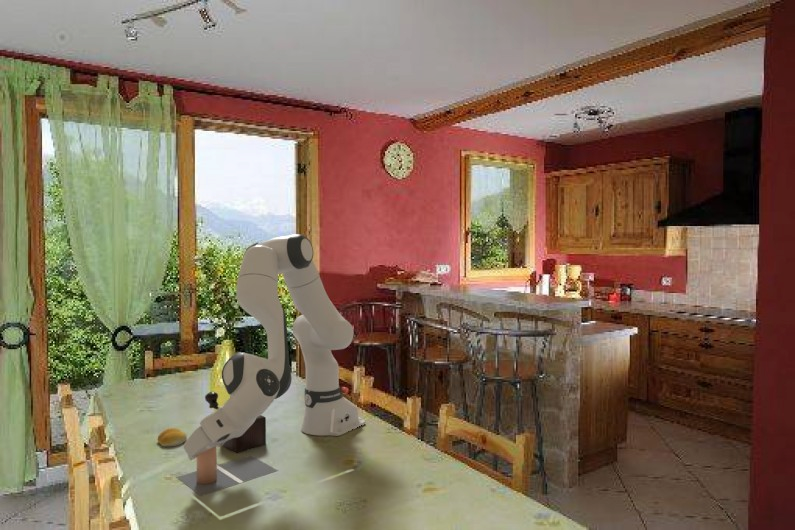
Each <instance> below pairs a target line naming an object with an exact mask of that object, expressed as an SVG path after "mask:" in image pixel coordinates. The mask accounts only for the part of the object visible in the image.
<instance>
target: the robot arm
mask: <svg viewBox="0 0 795 530" xmlns="http://www.w3.org/2000/svg"><path fill="white" fill-rule="evenodd" d="M313 259H314V247H313V245H312V243H311V240H309V238H307V237H306V236H305V235H304V234H297V233H296V234H294V233H293V234H290V235H284V236H278V237H276V236H275V237H273V238H271V239H267V240H264V241H260V242H256V243H253V244H251V245H249V246H248V247H247V248H246V249H245V251H244V254H243V258H242V261H241V264H240V268H239V271H238V276H237V282H236V289H235V290H236V292H235V294H236V295H235V296H236V300H237V302H238V304H239V306H240V307H241V308H242V309H243V311H244V312H246V314H249V316H251V317H253V318H254V319H255V320H256V321H257V322H258V323H259V324H261V326H262V327H263V328H264V330H265V332H266V336H267V358H265V357H260V356H257V355H255V354H251V353H246V352H242V351H239V352H236V353H234V354H232V355H231V356H230V357H229V358H228V359H227V361H226V362H225V364H224V366H223V368H222V370H221V379H222V382H223V385H224V387H225V390H226V392H227V394H228V395H229V398H228V399H227V400H226V401H225V403H224V404H223V405H221V406H219V407H220V408H219V409H218V410H217V409H215V411H213V412H211V413H209V415H206V416H205V417H204V418H202V419H201V420H200V422H199V426H198V427H197V428H196V429H195V430H194V431H193V432H192V433H191V434H190V435H189V436H188V438H187V439H186V441H185V442H184V443H183V449H184V451H185V453H186V454H187V458H188V459H189V460H190V461H192V460H195V459H196V457H197V456H198V454H200V453H203V452H205V451H207V450H209V449H211V448H213V447H215V446H216V448H220V447H223V446H222V445H223V444H224V443H225V442H226V441H228V440H230V439H232V438H237V437H240V436H242V435H243V434H244V433H245V432H246V431H247V429H248V428H249V427H250V426H251V425H252V424H253V423H254V422H255V420H256V418H257V417H258V416H260V415H263V414H264V413H265V411H266V410H267V409H268V408H269V407H270V406H271V405H272V403H273V402H274V401H275V400H277V399H279V398H280V397H282V396H283V395H284V394H285V393H286V392H288V390H289V389H290V387H291V384H292V370H291V365H290V360H289V346H288V326H287V317H286V311H285V309H284V308H283V306H282V303H281V302H280V297H279V293H278V285H279V283H278V282H279V275H281V274H282V275H283V279H284V282H285V285H286V288H287V290H288V292H289V293H288V294H289V295H290V298H291V300H292V303H293V305H294V307H295V309H296V310H297V311H298V312H299V313H300V314H301V315H299V316H298V317H295V318H296V319H295V320H294V322H293V324H292V334H293V336H294V338H295V339H296V340H297V342H298V344H299V346H300V350H301V352H302V356H303V361H304V366H305V388H304V405H305V406H304V415H303V420H302V424H301V427H300V431H301V432H302V433H305V434H307V435H310V436H311V435H312V436H334V437H336V436H337V437H338V436H342V435H344V434H346V433H348V431H349V432H351V431H352V429H353V430H355V429H358V428H360V427H362V426H364V424H365V425H366V420H365V419H364V418H362V417H360V416H359V410H358V408H357V406H356V404H354V403H352V402H351V401H350V400H349V399H347V398H346V397H344V394H348V392H349V388H348V387H345V386H340V383H339V380H340V379H339V377H340V376H339V374H340V373H339V370H340V369H339V363H338V361H337V360H336V358H335V357H334V355H333V353H332V351H337V350H344V349H346V348H347V347H349V346H350V345H351V343H352V341H353V339H354V328H353V325H352V324H351V323H350V322H349V321H348V320H347V319H346V318H344V316H342V314H341V313H340V312H339V310H338V309H337V308H336V306H335V305H334V304H333V302H332V301H331V300H330V298H329V295H328V294H327V292H326V290H325V287H324V284H323V281H322V279H321V276H320V273H319V271H318V269H317V266H316V264H315V263H314V260H313ZM343 393H344V394H343ZM361 425H362V426H361ZM359 426H360V427H359ZM357 427H358V428H357Z"/></svg>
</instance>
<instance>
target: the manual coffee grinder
mask: <svg viewBox="0 0 795 530" xmlns="http://www.w3.org/2000/svg"><path fill="white" fill-rule="evenodd" d="M204 399H205V402H207V403H208V404H209V405H208V408H209V409H214V410H218V409H219V408H220V407H221V406H219V403H218V399H219V394H218V393H217V392H215V391H210V392H207V394H205V396H204ZM266 422H267V419H266V416H263V414H261V415H260V416H258V417H257V418H256V420H255V422H254V423H253V424H252V425H251V426H250V427H249V428H248V429H247V431H246V432H245V433H244V434H243V435H242V436H240V437H237V438H232V439H230V440H228V441H226V442H225V443H224V444H223V445H222V446H221V447H223V448H225V449H226V450H228V451H230V452H232V453H235V454H239V453H243V452H246V451H250V450H252V449H255V448H260V447H264V446H265V445H267V432H266V431H267V428H266V427H267V426H266V425H267V424H266Z"/></svg>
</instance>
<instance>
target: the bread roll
mask: <svg viewBox="0 0 795 530" xmlns="http://www.w3.org/2000/svg"><path fill="white" fill-rule="evenodd" d="M157 436H158V437H157V442H158V443H159V444H160V445H161V446H162V447H177V446H180V445H182V444H185V442H186V441H187V439H188V438H187V434H186V433H185V432H183V431H182V430H181V429H179V428H176V427H175V428H173V427H172V428H171V427H170V428H167V429H164V430H163V431H161V432H160V433H159V435H157Z"/></svg>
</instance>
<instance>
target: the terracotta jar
mask: <svg viewBox="0 0 795 530" xmlns="http://www.w3.org/2000/svg"><path fill="white" fill-rule="evenodd" d="M217 457H218V456H217V447H216V446H215V447H213V448H211V449H209V450H207V451H205V452H203V453H200V454H198V456H197V457H196V458H195V459H196V460H195V461H196V471H197V483H199V484H209V483H213V482H215V481H216V480H217V465H218V464H217Z"/></svg>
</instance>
